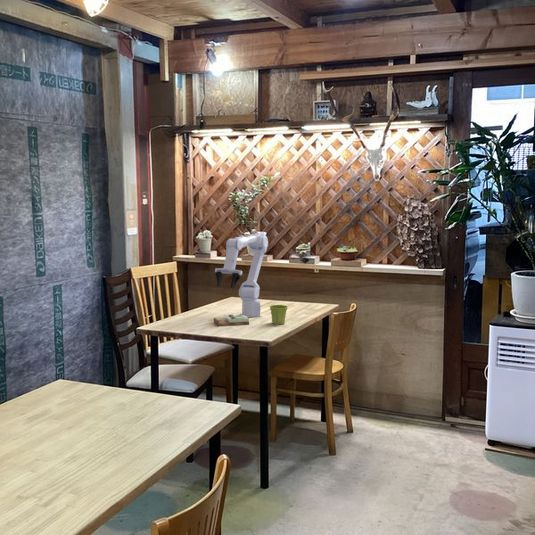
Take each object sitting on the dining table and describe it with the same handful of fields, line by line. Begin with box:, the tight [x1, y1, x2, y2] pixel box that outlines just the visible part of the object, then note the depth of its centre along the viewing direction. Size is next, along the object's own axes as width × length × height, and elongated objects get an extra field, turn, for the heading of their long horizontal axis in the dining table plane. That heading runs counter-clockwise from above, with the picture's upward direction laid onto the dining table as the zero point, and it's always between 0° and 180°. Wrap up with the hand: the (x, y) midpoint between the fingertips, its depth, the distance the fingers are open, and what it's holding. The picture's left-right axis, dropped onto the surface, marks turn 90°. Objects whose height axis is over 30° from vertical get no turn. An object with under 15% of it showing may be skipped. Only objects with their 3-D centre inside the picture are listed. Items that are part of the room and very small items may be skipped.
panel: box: [224, 315, 250, 323], centre depth 308 cm, size 10×8×2 cm
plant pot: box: [269, 304, 289, 325], centre depth 308 cm, size 9×9×9 cm
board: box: [213, 314, 250, 327], centre depth 307 cm, size 16×9×4 cm, turn 107°
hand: (225, 287), depth 305 cm, fingers open, 7 cm apart
